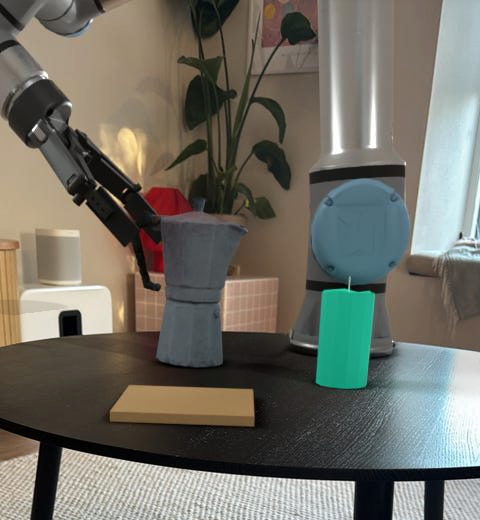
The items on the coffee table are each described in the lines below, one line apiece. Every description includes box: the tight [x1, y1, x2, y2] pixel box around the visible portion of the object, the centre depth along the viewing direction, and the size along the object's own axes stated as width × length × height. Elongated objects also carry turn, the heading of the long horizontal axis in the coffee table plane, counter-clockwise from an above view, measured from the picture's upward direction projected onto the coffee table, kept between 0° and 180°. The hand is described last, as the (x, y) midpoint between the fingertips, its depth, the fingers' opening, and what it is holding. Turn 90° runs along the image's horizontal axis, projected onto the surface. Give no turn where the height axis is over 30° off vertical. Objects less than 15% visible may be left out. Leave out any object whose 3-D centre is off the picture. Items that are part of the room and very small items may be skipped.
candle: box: [315, 277, 375, 390], centre depth 86 cm, size 6×6×12 cm
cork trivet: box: [109, 384, 255, 428], centre depth 73 cm, size 13×12×1 cm
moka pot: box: [130, 196, 249, 368], centre depth 95 cm, size 10×15×20 cm, turn 78°
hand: (149, 238), depth 94 cm, fingers open, 13 cm apart
